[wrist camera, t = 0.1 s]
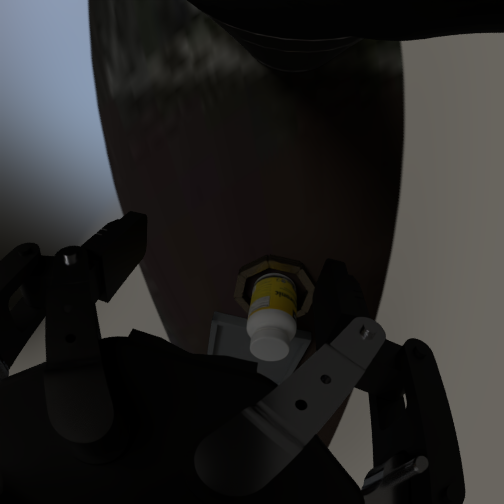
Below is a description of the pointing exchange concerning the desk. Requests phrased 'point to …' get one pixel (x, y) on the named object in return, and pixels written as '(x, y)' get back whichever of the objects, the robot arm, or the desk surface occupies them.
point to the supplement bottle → (272, 317)
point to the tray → (238, 345)
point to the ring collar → (278, 264)
